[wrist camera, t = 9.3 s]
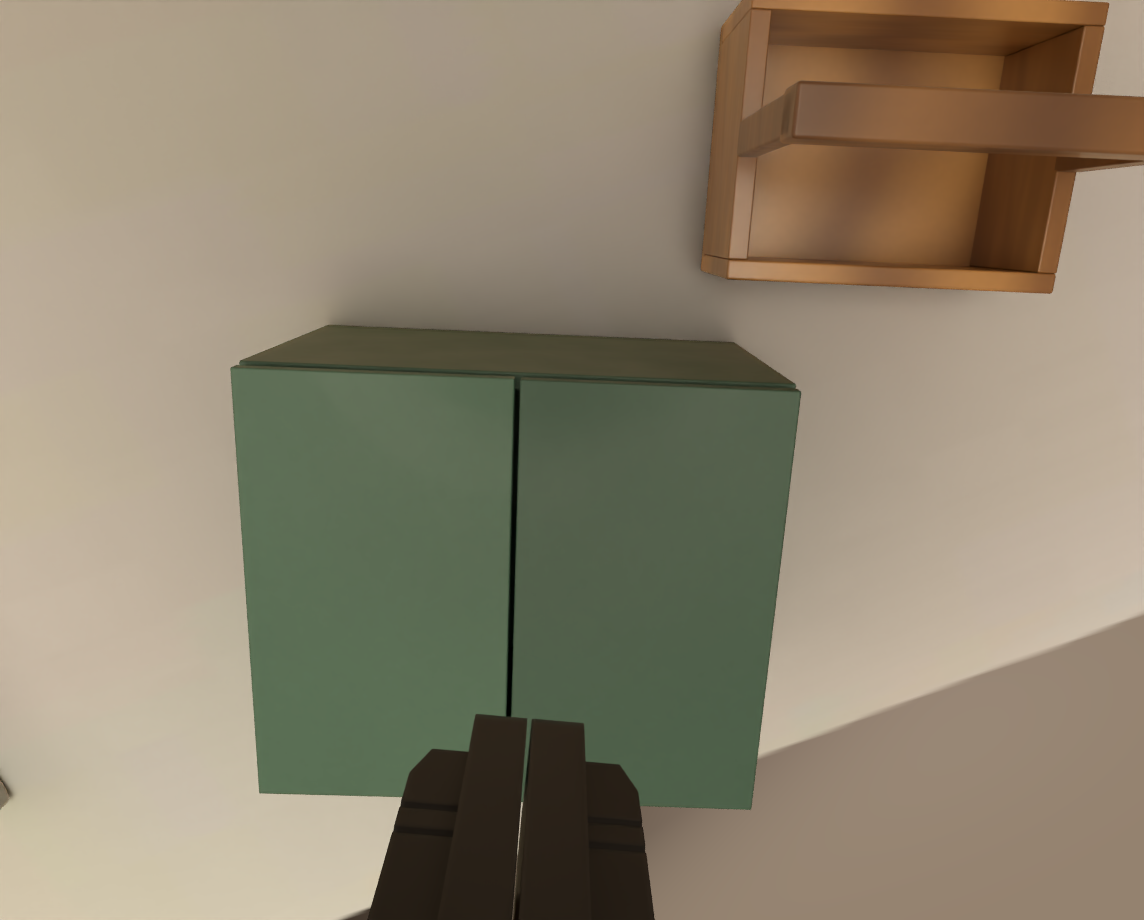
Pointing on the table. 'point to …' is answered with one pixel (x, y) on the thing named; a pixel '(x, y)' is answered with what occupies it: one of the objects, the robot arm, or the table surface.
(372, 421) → the flap
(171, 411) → the table surface
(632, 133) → the table surface
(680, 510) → the carton
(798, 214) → the basket
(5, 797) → the hard drive
